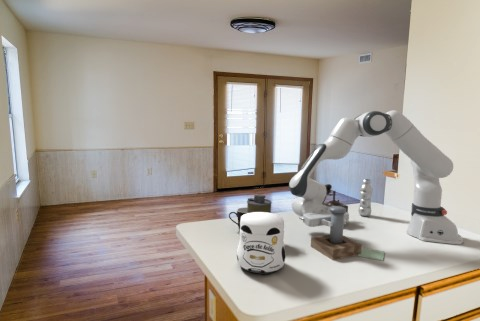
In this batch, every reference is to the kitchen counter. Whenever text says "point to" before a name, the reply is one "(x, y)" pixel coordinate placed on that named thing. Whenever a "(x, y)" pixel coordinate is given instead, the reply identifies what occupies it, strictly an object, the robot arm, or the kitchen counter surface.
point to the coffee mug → (239, 215)
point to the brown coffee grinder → (334, 202)
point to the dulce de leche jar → (261, 242)
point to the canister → (258, 204)
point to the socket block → (335, 247)
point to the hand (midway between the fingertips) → (338, 223)
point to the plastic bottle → (365, 198)
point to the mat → (372, 254)
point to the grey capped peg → (337, 224)
